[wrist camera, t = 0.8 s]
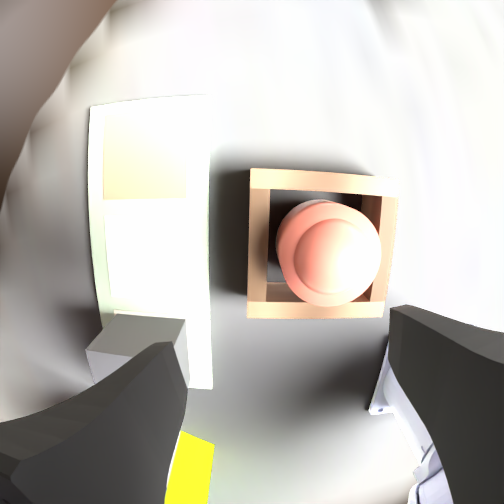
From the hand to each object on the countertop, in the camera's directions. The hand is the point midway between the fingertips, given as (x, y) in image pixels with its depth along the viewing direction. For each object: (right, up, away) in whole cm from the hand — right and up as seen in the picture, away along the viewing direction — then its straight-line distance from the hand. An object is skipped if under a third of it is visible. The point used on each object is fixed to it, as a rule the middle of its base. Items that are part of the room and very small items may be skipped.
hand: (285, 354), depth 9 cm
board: (-8, +3, +10) cm, 13 cm away
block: (-8, -3, +11) cm, 14 cm away
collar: (+3, +4, +10) cm, 11 cm away
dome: (+3, +4, +8) cm, 9 cm away
